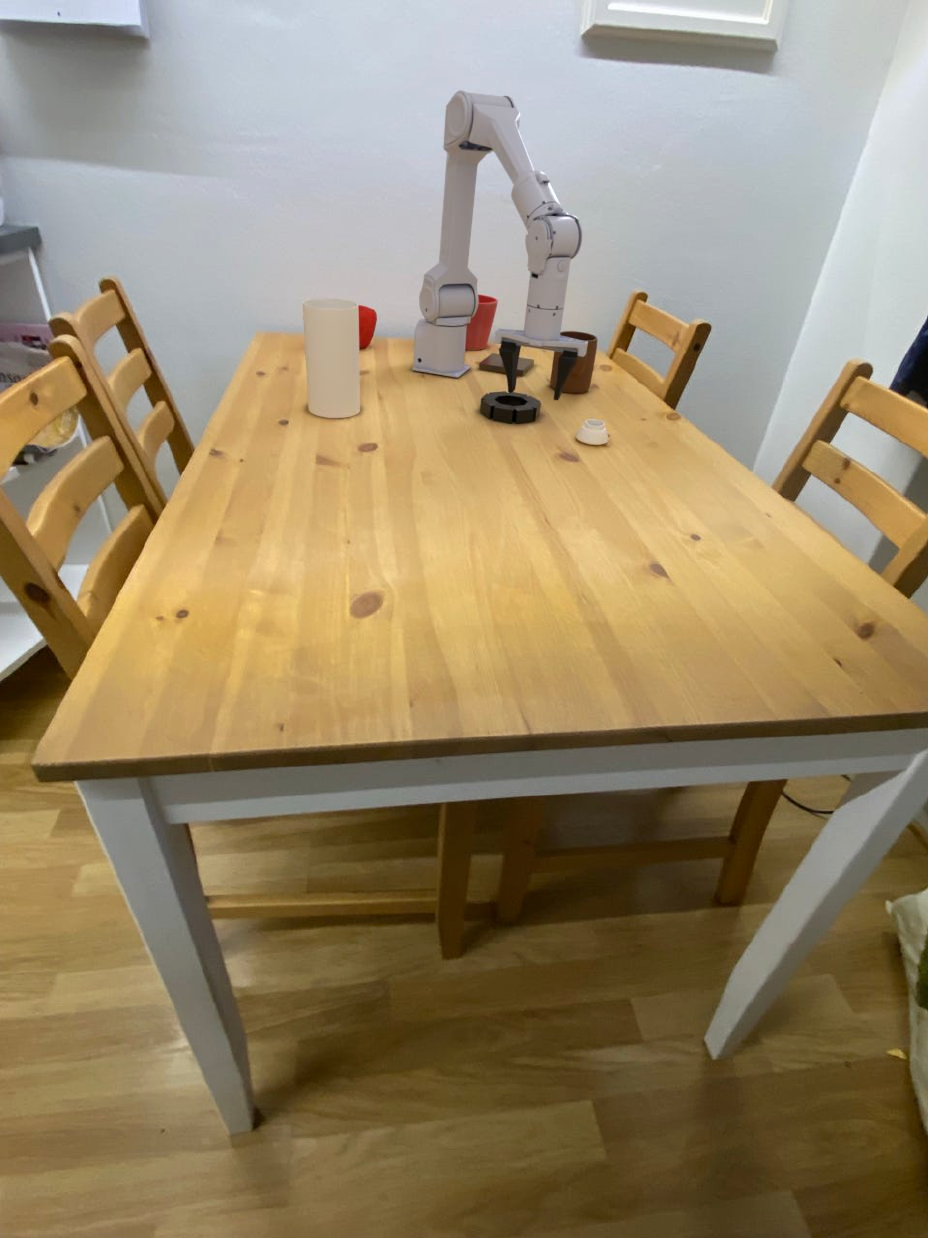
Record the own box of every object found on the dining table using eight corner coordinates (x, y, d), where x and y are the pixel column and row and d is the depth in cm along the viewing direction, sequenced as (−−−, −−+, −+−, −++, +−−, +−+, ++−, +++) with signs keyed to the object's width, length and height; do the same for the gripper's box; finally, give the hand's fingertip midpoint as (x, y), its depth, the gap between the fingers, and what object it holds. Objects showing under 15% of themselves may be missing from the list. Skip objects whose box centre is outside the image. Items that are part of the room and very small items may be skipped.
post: (478, 369, 138) (481, 336, 134) (491, 358, 145) (494, 327, 141) (522, 376, 136) (526, 343, 132) (533, 365, 143) (537, 333, 139)
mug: (596, 403, 125) (606, 348, 120) (554, 400, 125) (562, 345, 120) (586, 383, 135) (594, 332, 130) (547, 380, 135) (554, 329, 129)
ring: (474, 416, 115) (475, 403, 113) (490, 400, 122) (491, 388, 121) (530, 427, 112) (532, 413, 111) (543, 409, 120) (545, 397, 119)
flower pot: (447, 337, 157) (450, 290, 152) (495, 342, 156) (500, 295, 151) (440, 348, 149) (442, 299, 143) (490, 354, 148) (495, 305, 142)
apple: (326, 348, 142) (324, 307, 138) (344, 339, 149) (343, 299, 145) (366, 354, 141) (366, 313, 136) (383, 345, 148) (383, 305, 143)
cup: (368, 406, 115) (367, 302, 106) (345, 421, 109) (342, 311, 99) (324, 398, 117) (319, 294, 108) (298, 412, 110) (291, 303, 101)
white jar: (583, 447, 107) (612, 446, 108) (587, 428, 105) (616, 427, 106) (570, 435, 111) (598, 434, 112) (573, 417, 109) (602, 416, 110)
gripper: (492, 303, 105) (484, 393, 113) (587, 316, 102) (572, 408, 110) (505, 296, 111) (496, 382, 118) (595, 308, 107) (580, 396, 115)
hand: (534, 394), depth 114 cm, fingers open, 7 cm apart
